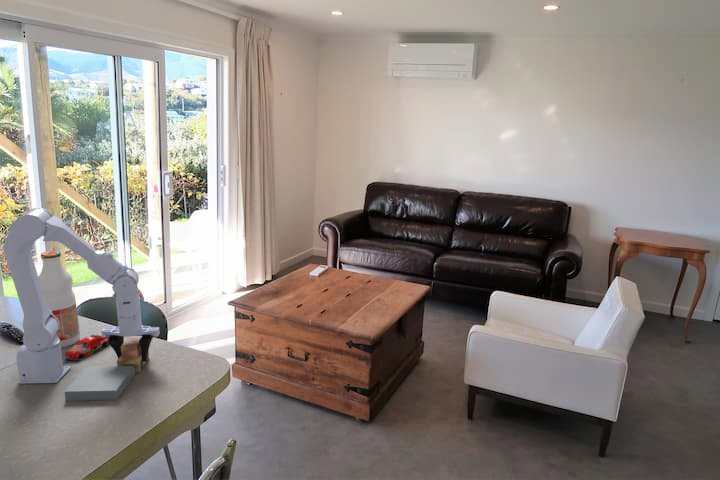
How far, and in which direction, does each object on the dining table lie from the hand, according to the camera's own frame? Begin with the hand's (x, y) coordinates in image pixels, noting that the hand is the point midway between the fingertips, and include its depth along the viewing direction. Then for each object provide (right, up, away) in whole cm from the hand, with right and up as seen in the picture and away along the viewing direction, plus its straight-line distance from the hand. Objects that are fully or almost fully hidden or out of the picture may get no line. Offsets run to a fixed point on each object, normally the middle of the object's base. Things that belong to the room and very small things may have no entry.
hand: (133, 359), depth 135 cm
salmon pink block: (0, +2, 0) cm, 2 cm away
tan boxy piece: (0, -2, 0) cm, 2 cm away
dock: (-3, -4, -11) cm, 12 cm away
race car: (-17, 0, +8) cm, 18 cm away
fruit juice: (-27, +2, +13) cm, 30 cm away
